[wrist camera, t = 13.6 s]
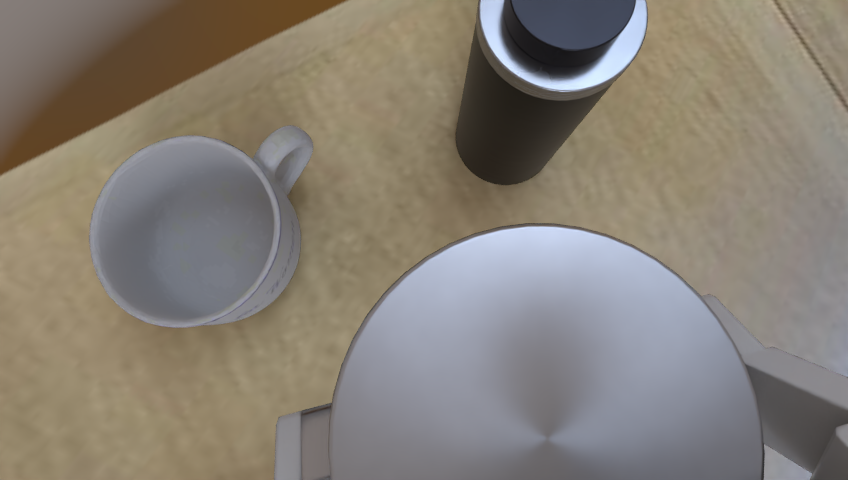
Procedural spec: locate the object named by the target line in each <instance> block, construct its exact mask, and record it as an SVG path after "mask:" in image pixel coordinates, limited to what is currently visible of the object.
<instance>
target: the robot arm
mask: <svg viewBox="0 0 848 480" xmlns="http://www.w3.org/2000/svg"><path fill="white" fill-rule="evenodd" d="M701 297H702V298H703V299H704V300H705V302H706V303H707V304H708V305H709V306H710V308H711V309H712V310H713V311H714V313H715V314H716V315H717V316H718V317H719V319H720V321H721V322H722V324H723V325H724V327H725V328H726V330H727V331H728V333H729V335H730V336H731V338H732V339H733V341H734V343H735V345H736V347H737V349H738V351H739V353H740V355H741V357H742V359H743V361H744V363H745V365H746V368H747V370H748V373H749V376H750V379H751V382H752V385H753V388H754V391H755V394H756V398H757V403H758V407H759V412H760V417H761V422H762V430H763V441H764V444H766V445H767V446H769V447H770V448H772V449H774V450H775V451H777V452H778V453H780V454H782V455H783V456H785V457H787V458H788V459H790V460H791V461H793V462H795V463H796V464H798V465H799V466H801V467H803V468H804V469H806V470H807V471H809V472H811V473H812V476H811V478H810V480H848V377H846V376H843V375H841V374H838V373H836V372H833V371H831V370H829V369H826V368H824V367H821V366H819V365H816V364H814V363H811V362H809V361H806V360H804V359H802V358H799V357H797V356H794V355H792V354H789V353H787V352H784V351H782V350H779V349H777V348H775V347H770V348H765V347H764V346H763V345H762V344H761V343H760V342H759V341H758V340H757V339H756V338H755V337H754V336H753V335H752V334H751V333H750V332H749V331H748V330H747V329H746V328H745V327H744V326H743V325H742V324H741V323H740V322H739V321H738V320H737V319H736V318H735V317H734V315H733V314H732V313H731V312H730V311H729V310H728V309H727V308H726V307H725V306H724V305H723V304H722V303H721V302H720V301H719V300H718V299H717V298H716V297H715V296H713V295H711V294H707V295H703V296H701ZM331 406H332V403H329V404H326V405H322V406H318V407H314V408H310V409H306V410H302V411H299V412H295V413H292V414H288V415H284V416H281V417H279V418H278V421H277V424H276V441H275V469H274V480H331V476H330V466H329V456H328V438H329V419H330V412H331Z"/></svg>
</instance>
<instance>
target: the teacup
mask: <svg viewBox="0 0 848 480" xmlns="http://www.w3.org/2000/svg"><path fill="white" fill-rule="evenodd" d="M312 152H313V142H312V140H311V138H310V137H309V135H308V134H307V133H306V132H304V131H303V130H302V129H300V128H298V127H296V126H291V125H290V126H284V127H282V128H279V129H277V130H276V131H274V132H273V133H272V134H271V135H269V136H268V137H267V138H266V139H265V140H264V141H263V143H262V144H261V146H260V147H259V149H258V150H257V152H256V154H255V156H254V158H253V159H252V158H250V157H249V156H248V155H247V154H245V153H244V152H243V151H241V150H239V149H237V148H236V147H234V146H232V145H230V144H228V143H226V142H224V141H221V140H218V139H214V138H209V137H205V136H191V135H189V136H178V137H173V138H168V139H164V140H161V141H158V142H156V143H154V144H152V145H150V146H147V147H145V148H143V149H141V150H139V151H138V152H136V153H135V154H133V155H132V156H131V157H129V158H128V159H127V160H126V161H125V162H124V163H122V164H121V165H120V166H119V167H118V168H117V169H116V170H115V171H114V173H113V174H112V175H111V177H110V178H109V180H108V181H107V182H106V184H105V185H104V187H103V189H102V191H101V193H100V195H99V197H98V199H97V202H96V204H95V207H94V211H93V213H92V217H91V223H90V235H89V243H90V250H91V257H92V261H93V264H94V267H95V270H96V273H97V276H98V278H99V280H100V282H101V284H102V285H103V287H104V289H105V291H106V292H107V294H108V295H109V297H110V298H112V299H113V300H114V301H115V302H116V303H117V304H118V305H119V306H120V307H121V308H122V309H124V310H125V311H126V312H127V313H129V314H130V315H132V316H134V317H136V318H137V319H140V320H142V321H144V322H147V323H151V324H154V325H159V326H164V327H173V328H185V327H194V326H200V325H217V324H225V323H230V322H235V321H238V320H241V319H244V318H247V317H249V316H252V315H254V314H255V313H257V312H259V311H261V310H262V309H264V308H265V307H267V306H268V305H269V304H271V303H272V302H273V301H274V300H275V299H276V298H277V297H278V296H279V295H280V294H281V293H282V292H283V290H284V289H285V287H286V286H287V285H288V283H289V282H290V280H291V278H292V276H293V274H294V272H295V269H296V267H297V263H298V260H299V255H300V249H301V233H300V226H299V221H298V218H297V215H296V212H295V210H294V208H293V206H292V204H291V202H290V200H289V199H288V197H287V196H288V194H289V193H290V191H291V188H292V186H293V184H294V183H295V182H296V180H297V179H298V177H299V176H300V174H301V173H302V171H303V170H304V168H305V166H306V165H307V163H308V161H309V159H310V157H311V155H312ZM284 157H285V158H284ZM282 160H283V161H282ZM281 161H282V162H281ZM280 162H281V164H280ZM279 164H280V165H279Z"/></svg>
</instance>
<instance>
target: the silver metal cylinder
mask: <svg viewBox="0 0 848 480" xmlns="http://www.w3.org/2000/svg"><path fill="white" fill-rule="evenodd" d="M764 455H765V453H764V441H763V430H762V422H761V417H760V412H759V407H758V403H757V398H756V394H755V391H754V388H753V385H752V382H751V379H750V376H749V373H748V370H747V368H746V365H745V363H744V361H743V359H742V357H741V355H740V353H739V351H738V349H737V347H736V345H735V343H734V341H733V339H732V338H731V336H730V335H729V333H728V331H727V330H726V328H725V327H724V325H723V324H722V322H721V321H720V319H719V317H718V316H717V315H716V314H715V313H714V311H713V310H712V309H711V308H710V306H709V305H708V304H707V303H706V302H705V300H704V299H703V298H702V297H701V296H700V295H699V294H698V293H697V292H696V291H695V290H694V289H693V288H692V287H691V286H690V285H689V284H688V283H687V282H686V281H685V280H684V279H683V278H682V277H680V276H679V275H678V274H677V273H676V272H674V271H673V270H672V269H670V268H669V267H667V266H666V265H665V264H663V263H662V262H661V261H659V260H658V259H657V258H655V257H653V256H651V255H650V254H648V253H646V252H644V251H643V250H641V249H639V248H637V247H635V246H634V245H632V244H629V243H627V242H625V241H622V240H620V239H617V238H615V237H612V236H610V235H607V234H604V233H600V232H597V231H593V230H589V229H585V228H582V227H576V226H568V225H561V224H546V223H526V224H518V225H510V226H502V227H497V228H493V229H489V230H486V231H482V232H478V233H474V234H472V235H469V236H467V237H464V238H462V239H459V240H457V241H454V242H452V243H450V244H448V245H446V246H444V247H442V248H441V249H439V250H437V251H435V252H434V253H432V254H430V255H428V256H427V257H425V258H424V259H422V260H421V261H420V262H418V263H417V264H416V265H414V266H413V267H412V268H410V269H409V270H408V271H406V272H405V273H404V274H403V275H402V276H401V277H400V278H399V279H398V280H397V281H396V282H395V283H394V284H393V285H392V286H391V287H390V288H389V289H388V290H387V291H386V292H385V293H384V294H383V295H382V296H381V298H380V299H379V300H378V301H377V303H376V304H375V305H374V307H373V308H372V309H371V310H370V312H369V313H368V314H367V316H366V318H365V319H364V321H363V323H362V324H361V326H360V328H359V329H358V331H357V333H356V334H355V336H354V338H353V340H352V342H351V344H350V347H349V349H348V351H347V354H346V356H345V358H344V361H343V363H342V365H341V369H340V372H339V376H338V379H337V383H336V386H335V390H334V393H333V399H332V406H331V412H330V419H329V438H328V456H329V466H330V476H331V480H763V479H764Z"/></svg>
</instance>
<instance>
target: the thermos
mask: <svg viewBox="0 0 848 480" xmlns="http://www.w3.org/2000/svg"><path fill="white" fill-rule="evenodd" d="M647 22H648V9H647V2H646V0H479V1H478V7H477V15H476V24H475V30H474V35H473V41H472V46H471V52H470V57H469V62H468V68H467V73H466V79H465V84H464V90H463V95H462V101H461V106H460V112H459V117H458V123H457V128H456V145H457V149H458V152H459V155H460V157H461V159H462V161H463V162H464V164H465V165H466V166H467V167H468V169H469V170H470V171H471V172H472V173H474V174H475V175H476V176H478V177H480V178H481V179H483V180H485V181H488V182H491V183H494V184H501V185H511V184H517V183H521V182H523V181H526V180H528V179H530V178H532V177H533V176H535V175H536V174H537V173H538V172H539V171H540V170H541V169H542V168H543V167H544V166H545V165H546V164H547V162H548V161H549V160H550V159H551V158H552V156H553V155H554V154H555V153H556V151H557V150H558V149H559V148H560V147H561V145H562V144H563V143H564V142H565V141H566V139H567V138H568V137H569V136H570V135H571V133H572V132H573V131H574V130H575V128H576V127H577V126H578V125H579V124H580V122H581V121H582V120H583V119H584V118H585V116H586V115H587V114H588V113H589V112H590V110H591V109H592V108H593V107H594V106H595V104H596V103H597V102H598V101H599V99H600V98H601V97H602V96H603V95H604V93H605V92H606V91H607V90H608V89H609V87H610V86H611V85H612V84H613V83H614V81H616V80H617V79H618V78H619V77H620V76H621V75H622V73H623V72H624V71H625V70H626V69H627V67H628V66H629V65H630V64H631V62H632V61H633V60H634V59H635V57H636V56H637V54H638V52H639V50H640V48H641V46H642V44H643V41H644V38H645V35H646V30H647Z"/></svg>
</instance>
